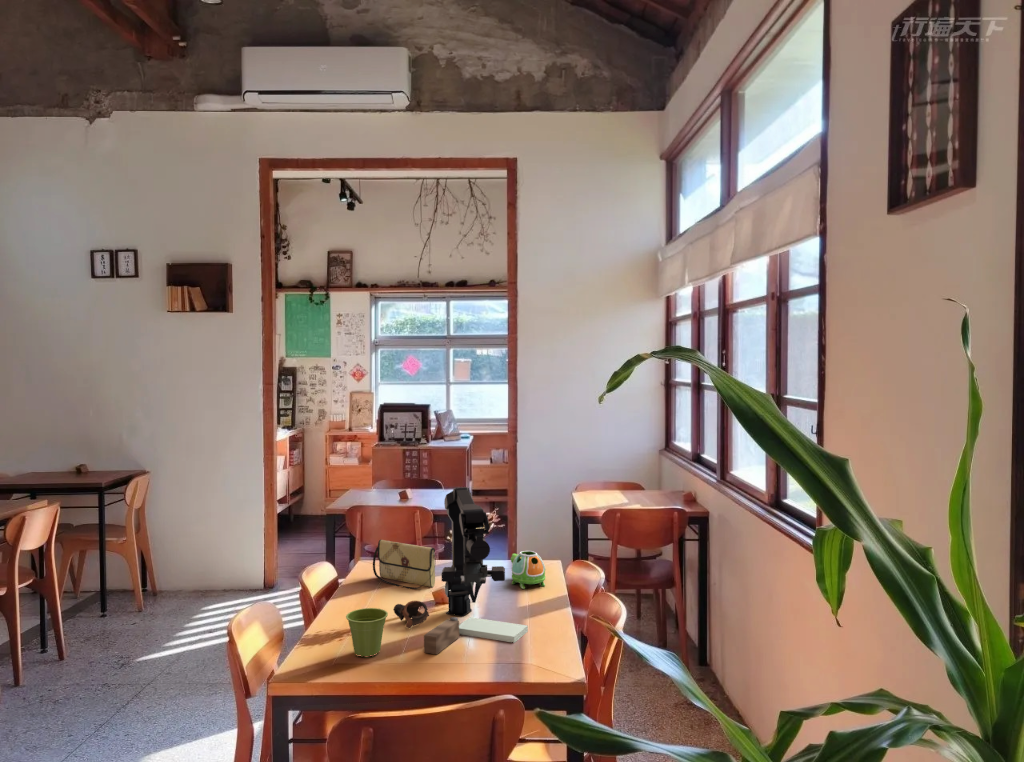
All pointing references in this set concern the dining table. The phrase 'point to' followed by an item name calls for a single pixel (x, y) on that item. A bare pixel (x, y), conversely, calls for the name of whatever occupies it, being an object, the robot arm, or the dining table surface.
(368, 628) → the plant pot
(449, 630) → the folding leg
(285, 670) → the dining table surface
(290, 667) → the dining table surface
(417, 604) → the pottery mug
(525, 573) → the turtle holder
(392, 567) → the clutch purse
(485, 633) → the pale green flat block
